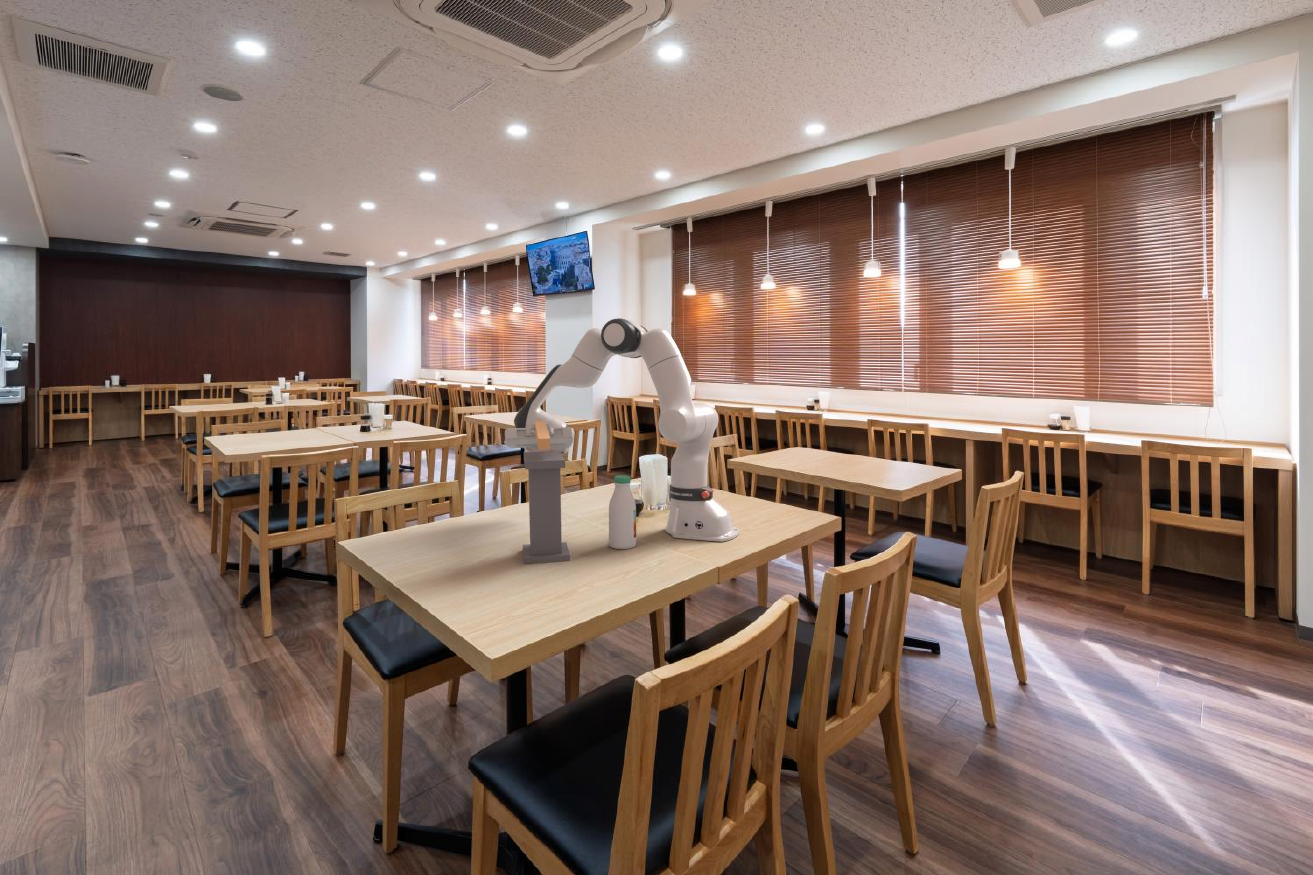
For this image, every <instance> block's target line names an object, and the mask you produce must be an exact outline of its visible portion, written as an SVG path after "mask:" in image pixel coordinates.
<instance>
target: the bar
mask: <svg viewBox="0 0 1313 875" xmlns="http://www.w3.org/2000/svg"><path fill="white" fill-rule="evenodd" d="M535 435H536V440H537V445H538V450H551V448H550V436H549V433H548V429H547V426H546V423H545V421H535Z"/></svg>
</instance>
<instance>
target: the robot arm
mask: <svg viewBox="0 0 1313 875" xmlns="http://www.w3.org/2000/svg"><path fill="white" fill-rule="evenodd" d="M617 355H618V356H621V357H624V358H628V359H629V358H630V359H638V358H642V359H643V361H644V363H645V365H646V367H647V371H648V373H649V374H650V378H651V380H652V382H653V385H654V388H655V391H656V392H657V397H658V402H659V410H660V415H659V418H658V423H657V424H658V431H659V433H660V435H661V436H662V437H663V438H664V439H666V440H667V441H669V442H674V443H677V446H676V449H675V451H674V454H673V456H672V457H671V460H670V485H669V489H668V490H669V493H668V494H669V495H668V496H669V497H668V498H669V502H670V503H669V511H668V518H667V521H666V522H667V523H666V526H665V532H666V533H668V534H670V535H671V536H672V538H675V539H686V540H696V541H698V540H699V541H709V542H710V541H711V542H721V543H722V542H727V541H731V540H733V539H735V538H736V537H737V536H738V535H739V534H740V529H739V528H738V527H737V526H736V527H735V526H733V522H732V516H731V513H730V512H729V510H728V509H726V508H725V507H724V506H723V505H721V504H720V502H718V501H717V500H716V499H714V497H713V496H714V493H715V492H716V491H715V490H716V489H715V487H714V488H711V487H710V486H709V485H708V468H709V467H708V465H709V464H708V463H709V456H710V455H709V454H710V451H711V450H710V449H711V447H712V441H713V437H714V433H715V431H716V429H717V427H718V425H719V415H718V411H716V409H715V408H714V407H713V406H711V405H709V404H707V403H704V402H694V401H693V398H692V392H691V391H692V390H691V385H692V377H691V375H690V372H689V370H688V368H687V365H686V363H685V360H684V358H683V356H682V354H681V352H680V349H679V348H678V345H677V344H676V341H674V338H673V337H672V335H671V334H670V332H669V331H668V330H666V329H664V328H659V327H658V328H657V327H656V328H653V329H652V328H651V329H650V330H647V329H646V328H645V327H644V326H642V325H641V324H638V323H636V322H634V321H632V320H628V319H625V318H613V319H610V320H608V321H606V323H605V324H604V325H603V326H602V327H601V328H599V327H598V328H596V327H594V328H589V330H587V331H586V332H585V334H584V335H583V336H582V338H581V339H580V340H579V342H578V344H577V345H576V347H575V349H574V350H573V353H572V354H571V356H570V358H569V359H568V360H566V362H565V363H563V364H557V365H555V366H554V367H553V368H551V370H550V371H549V372H548V374H547V375H546V376H545V377H544V379H543V380H542V381H541V382H540V384H539V385H538V386H537V388H536V389H535V391H534V392H533V393H532V394H531V396H530V397H529V399H528V400H527V401H526V402H525V403H524V405H523V406H522V407H521V408H519V410H518V411H517V413H516V415H515V417H514V419H513V425H514V428H513V427H512V428H506V429H505V430H504V441H503V444H504V445H505V446H507V447H509V448H511V449H519V448H520V449H524V451H523V453H524V452H547V451H561V453H562V455H565V454H567V453H569V448H571V447H572V445H573V442H574V440H575V432H574V428H573V427H570V426H569V424H568V423H566V422H564V421H563V420H561V419H559V418H557V417H555V416H553V415H552V414H550V413H549V412H546V411H545V410H543V409H542V408H541V406H542V404H543V403H544V402H545V401H546V400H547V398H548V397H549V395H550V394H551V392H553V390H554V389H555V388H557V387H561V386H562V387H569V388H576V389H577V388H580V389H581V388H582V389H584V388H590V387H592V386H594V385H595V384H597V382H598V380H599V379H600V377H601V376H602V374H603V372H604V370H605V368H606V366H607V365H608V362H609V361H610V359H612V357H614V356H617ZM535 421H545V423H546V426H547V429H548V433H549V436H550V448H551V450H538V445H537V440H536V435H535Z"/></svg>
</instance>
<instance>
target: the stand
mask: <svg viewBox="0 0 1313 875" xmlns="http://www.w3.org/2000/svg"><path fill="white" fill-rule="evenodd" d="M523 463H524V469H525V470H528V471H527V473H528V474H527V476H528V511H529V512H528V516H529V518H528V519H529V544H522V559H523V560H522V562H523V563H527V564H538V562H542V563H553V562H555V563H556V562H567V561H568V562H570V561H571V553H570V551H569V550H570V549H569V547H568V546H569V545H568V543H567V542H566V541H565V542H564V541H562V495H561V494H562V493H561V492H562V491H561V489H562V487H561V483H562V481H561V469H566V459H565V457H564V454H562V453H561V451H547V452H524V451H523Z"/></svg>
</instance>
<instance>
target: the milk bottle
mask: <svg viewBox="0 0 1313 875" xmlns="http://www.w3.org/2000/svg"><path fill="white" fill-rule="evenodd" d="M631 479H632V478H631V476H630V475H626V474H622V475H621V474H619V475H615V476H614V478H613V484H614V488H613V489H614V490H613V493H612V495H611V498H610V500H609V504H608V545H609V547H610V548H612V549H615V550H629V549H632V548H635V547H636V546H637V505H636V501H635V498H634V495H633V493H632V490H631V487H630V486H631V481H632V480H631Z"/></svg>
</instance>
